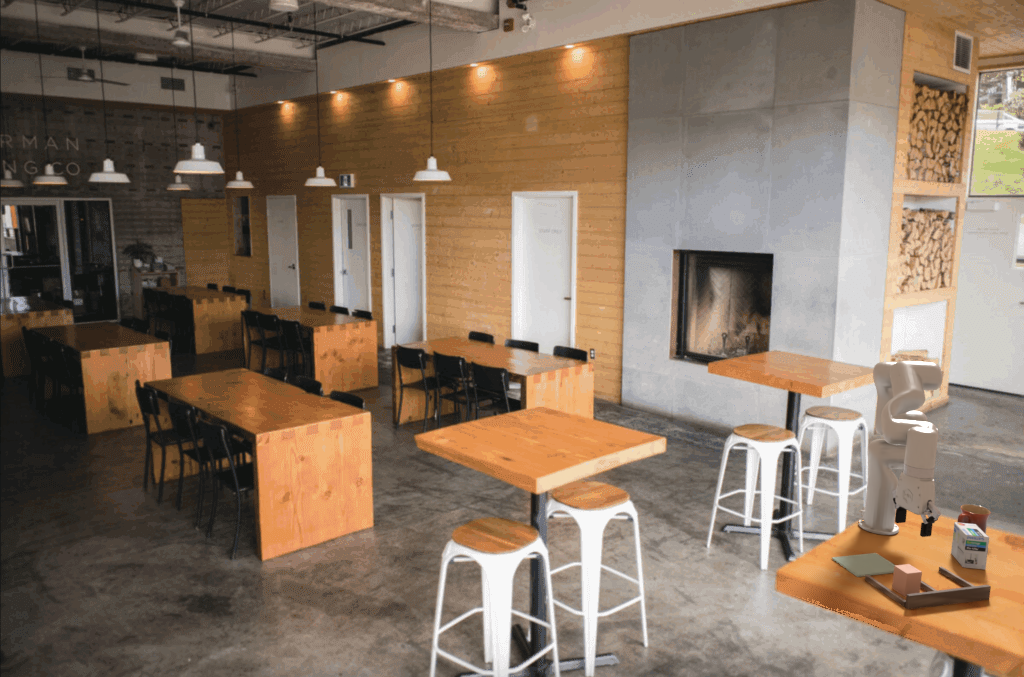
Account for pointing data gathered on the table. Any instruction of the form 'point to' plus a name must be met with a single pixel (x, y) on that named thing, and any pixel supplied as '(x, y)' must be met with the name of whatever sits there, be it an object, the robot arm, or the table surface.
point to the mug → (974, 516)
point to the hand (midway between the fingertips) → (912, 529)
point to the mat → (865, 564)
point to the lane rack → (937, 593)
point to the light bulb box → (970, 545)
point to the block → (906, 579)
